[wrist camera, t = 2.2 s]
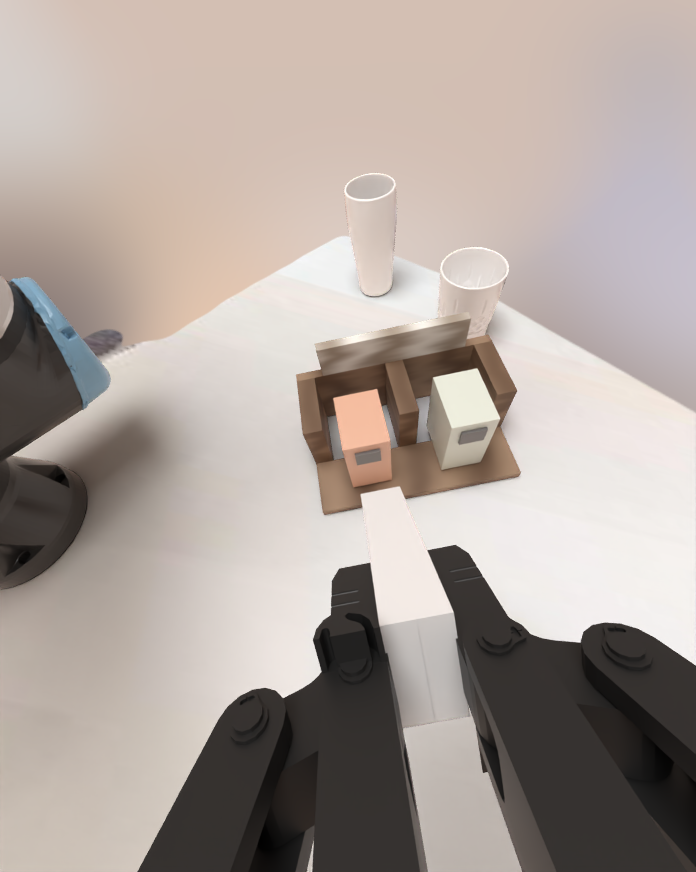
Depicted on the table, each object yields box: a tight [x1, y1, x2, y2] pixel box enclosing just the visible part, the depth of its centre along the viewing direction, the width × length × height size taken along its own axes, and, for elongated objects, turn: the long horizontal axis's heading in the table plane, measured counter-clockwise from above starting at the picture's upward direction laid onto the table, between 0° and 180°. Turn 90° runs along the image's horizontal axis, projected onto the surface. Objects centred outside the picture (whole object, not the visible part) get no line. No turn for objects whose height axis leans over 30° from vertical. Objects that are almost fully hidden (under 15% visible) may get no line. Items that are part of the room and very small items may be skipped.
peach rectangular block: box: [333, 389, 392, 488], centre depth 37 cm, size 4×6×9 cm
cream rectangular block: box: [427, 368, 500, 470], centre depth 37 cm, size 4×6×9 cm
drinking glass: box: [344, 173, 397, 296], centre depth 52 cm, size 7×7×15 cm
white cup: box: [438, 247, 509, 339], centre depth 47 cm, size 8×8×10 cm
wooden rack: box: [296, 312, 521, 515], centre depth 38 cm, size 22×14×12 cm, turn 99°
